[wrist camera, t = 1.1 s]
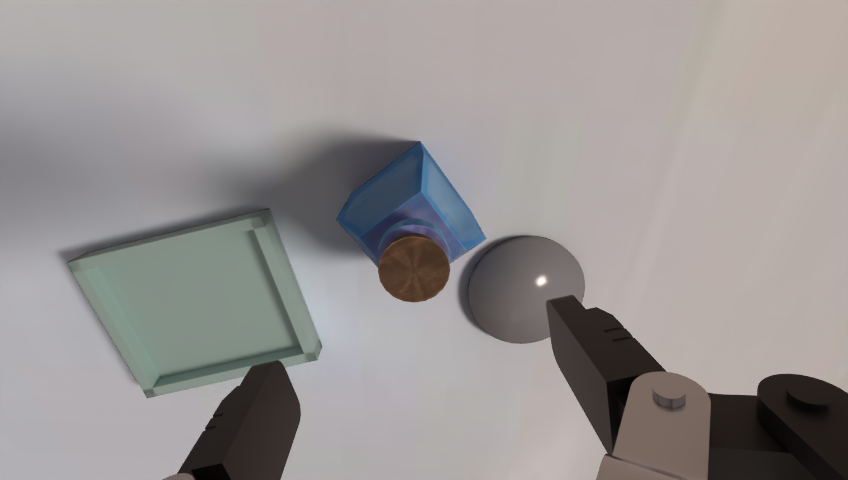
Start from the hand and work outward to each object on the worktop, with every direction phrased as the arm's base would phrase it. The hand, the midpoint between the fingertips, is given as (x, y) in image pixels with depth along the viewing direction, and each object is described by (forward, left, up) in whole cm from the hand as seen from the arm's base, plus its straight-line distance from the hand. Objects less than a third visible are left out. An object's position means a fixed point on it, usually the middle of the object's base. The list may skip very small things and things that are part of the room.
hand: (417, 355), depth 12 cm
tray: (+4, -17, -18) cm, 25 cm away
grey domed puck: (+9, +7, -18) cm, 21 cm away
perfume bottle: (0, 0, -18) cm, 18 cm away
